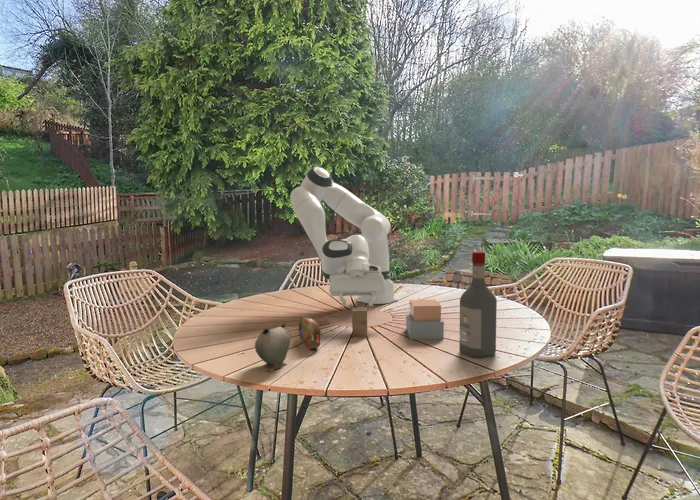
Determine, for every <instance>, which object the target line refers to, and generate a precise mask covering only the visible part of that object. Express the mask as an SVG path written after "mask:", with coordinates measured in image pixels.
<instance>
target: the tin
mask: <svg viewBox="0 0 700 500" xmlns="http://www.w3.org/2000/svg"><path fill="white" fill-rule="evenodd" d="M298 325H299V326H298V327H299V329H298V330H299V331H298V332H299V339H300V341H301V343H302V344H303V345H304V346H305V347H306V348H307V349H308V350H314V349H318V348H319V347H320V345H321V333H322V331H321V327H320V325H319V323H318V322H316V321H315V320H314V319H313V318H311V317H310V316H309V317H308V316H307V317H300V320H299V324H298Z"/></svg>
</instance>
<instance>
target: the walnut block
mask: <svg viewBox="0 0 700 500" xmlns="http://www.w3.org/2000/svg"><path fill="white" fill-rule="evenodd" d="M351 318H352V319H351V321H352V322H351V323H352V324H351V327H352V328H351V329H352V338H368V307H367V306H365V307H364V306H362V307H359V306H358V307H354V306H353V307H352V308H351Z"/></svg>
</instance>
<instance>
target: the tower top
mask: <svg viewBox="0 0 700 500" xmlns="http://www.w3.org/2000/svg"><path fill="white" fill-rule="evenodd" d="M409 314H410V315H411V317H412V319H413V321H441V319H442V304H441V303H440V302H438V301H437V300H436V299H409Z"/></svg>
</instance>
